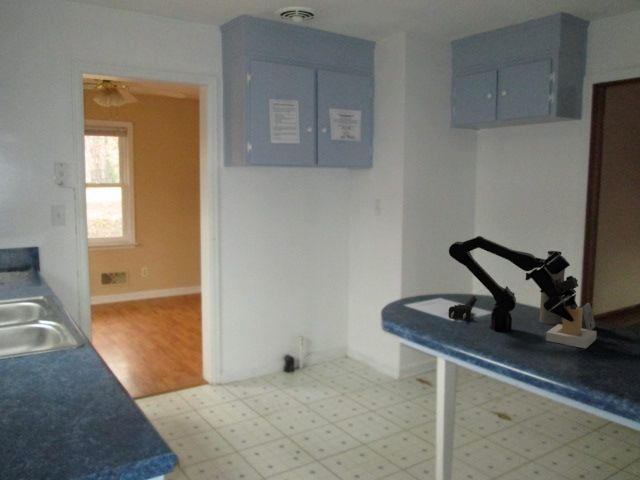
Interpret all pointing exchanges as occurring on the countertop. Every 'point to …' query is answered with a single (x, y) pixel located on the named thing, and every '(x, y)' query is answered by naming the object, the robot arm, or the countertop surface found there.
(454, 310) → the electrical plug
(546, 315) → the thermos bottle
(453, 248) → the robot arm
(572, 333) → the plug
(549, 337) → the socket block
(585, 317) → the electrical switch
